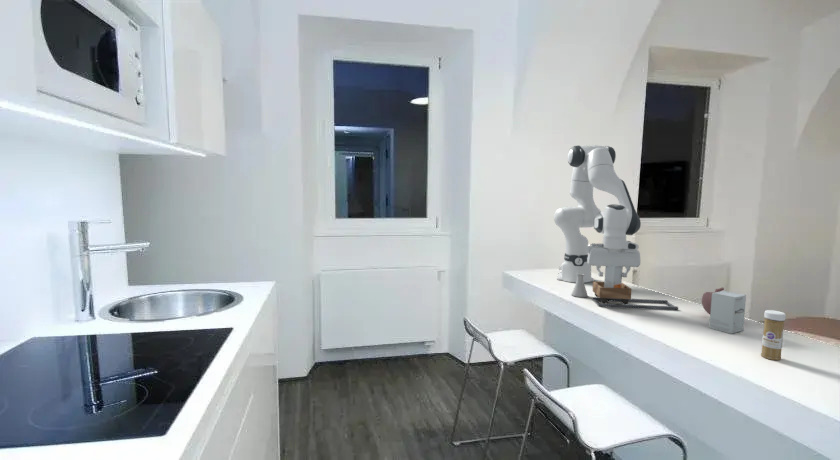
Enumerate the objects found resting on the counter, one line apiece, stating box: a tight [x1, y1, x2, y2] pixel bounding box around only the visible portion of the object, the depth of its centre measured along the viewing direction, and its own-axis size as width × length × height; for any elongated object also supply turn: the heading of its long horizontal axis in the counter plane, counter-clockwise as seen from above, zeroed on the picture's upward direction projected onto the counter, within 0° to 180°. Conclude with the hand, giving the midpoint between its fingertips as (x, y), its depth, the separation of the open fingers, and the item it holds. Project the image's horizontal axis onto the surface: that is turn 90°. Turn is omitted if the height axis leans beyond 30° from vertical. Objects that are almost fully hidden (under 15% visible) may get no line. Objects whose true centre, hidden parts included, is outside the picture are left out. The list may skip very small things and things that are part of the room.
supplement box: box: [708, 290, 747, 335], centre depth 144 cm, size 7×7×13 cm
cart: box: [592, 281, 633, 304], centre depth 177 cm, size 12×12×6 cm
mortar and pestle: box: [701, 286, 725, 315], centre depth 157 cm, size 12×12×12 cm
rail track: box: [591, 296, 679, 311], centre depth 176 cm, size 11×30×1 cm, turn 81°
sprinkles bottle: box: [760, 309, 786, 361], centre depth 120 cm, size 5×5×13 cm
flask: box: [571, 273, 589, 298], centre depth 190 cm, size 7×7×10 cm
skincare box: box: [603, 265, 624, 288], centre depth 176 cm, size 6×4×12 cm
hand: (612, 276), depth 176 cm, fingers open, 8 cm apart
